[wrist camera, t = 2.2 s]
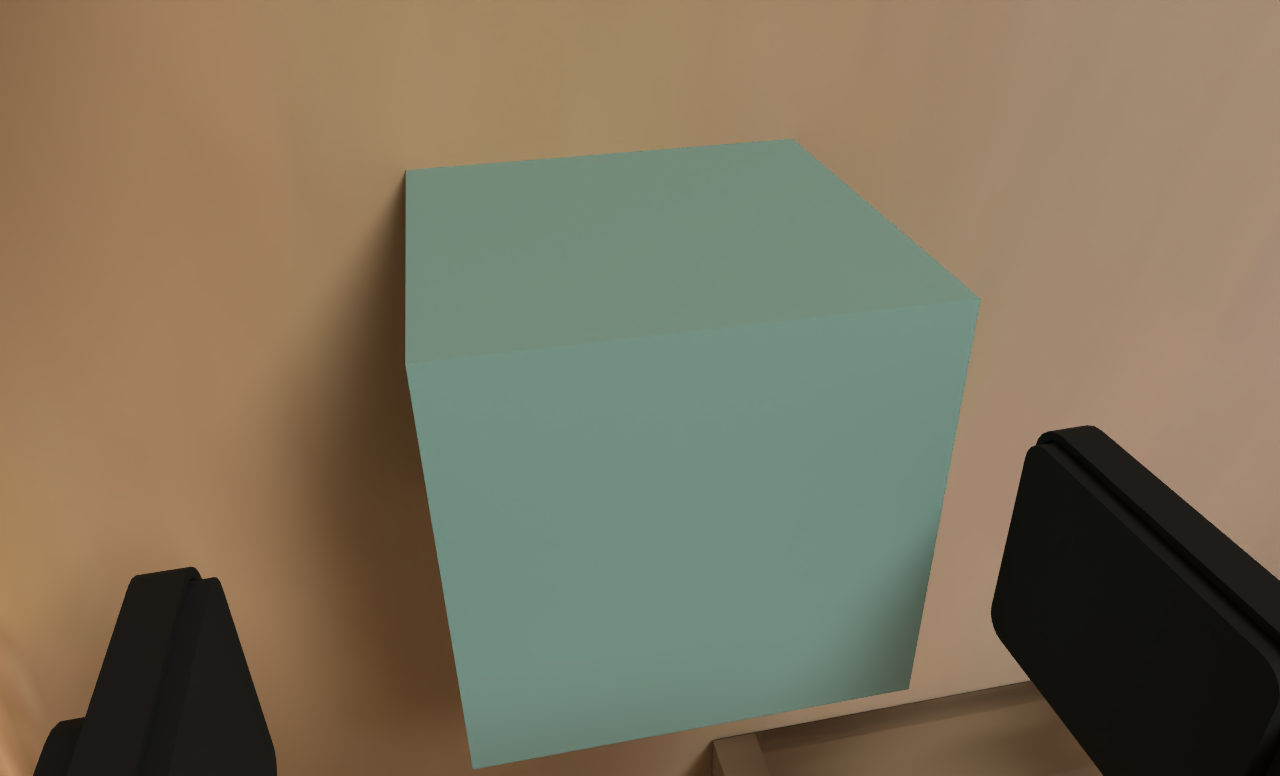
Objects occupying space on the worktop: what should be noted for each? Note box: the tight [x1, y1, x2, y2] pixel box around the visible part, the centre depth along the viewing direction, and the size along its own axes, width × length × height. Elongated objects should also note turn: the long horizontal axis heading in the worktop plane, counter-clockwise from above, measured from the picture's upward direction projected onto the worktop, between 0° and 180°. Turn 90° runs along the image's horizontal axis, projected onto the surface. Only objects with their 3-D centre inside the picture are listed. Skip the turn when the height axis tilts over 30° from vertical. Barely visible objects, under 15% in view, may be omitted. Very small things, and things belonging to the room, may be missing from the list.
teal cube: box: [405, 139, 980, 769], centre depth 14 cm, size 6×6×6 cm
